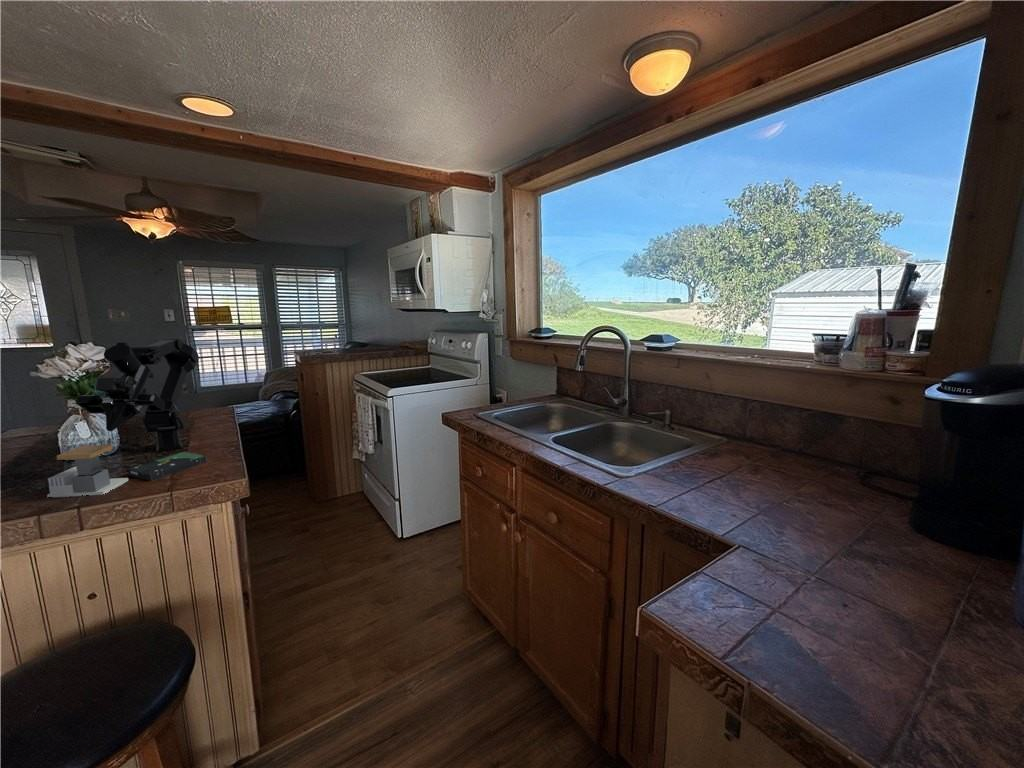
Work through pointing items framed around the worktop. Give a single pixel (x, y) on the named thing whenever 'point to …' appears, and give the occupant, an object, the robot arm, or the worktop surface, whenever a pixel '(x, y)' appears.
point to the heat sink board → (82, 483)
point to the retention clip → (86, 458)
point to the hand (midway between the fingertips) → (109, 430)
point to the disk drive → (166, 465)
